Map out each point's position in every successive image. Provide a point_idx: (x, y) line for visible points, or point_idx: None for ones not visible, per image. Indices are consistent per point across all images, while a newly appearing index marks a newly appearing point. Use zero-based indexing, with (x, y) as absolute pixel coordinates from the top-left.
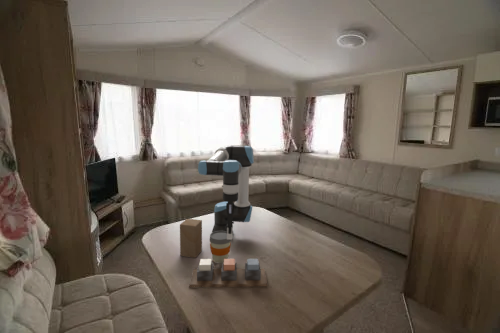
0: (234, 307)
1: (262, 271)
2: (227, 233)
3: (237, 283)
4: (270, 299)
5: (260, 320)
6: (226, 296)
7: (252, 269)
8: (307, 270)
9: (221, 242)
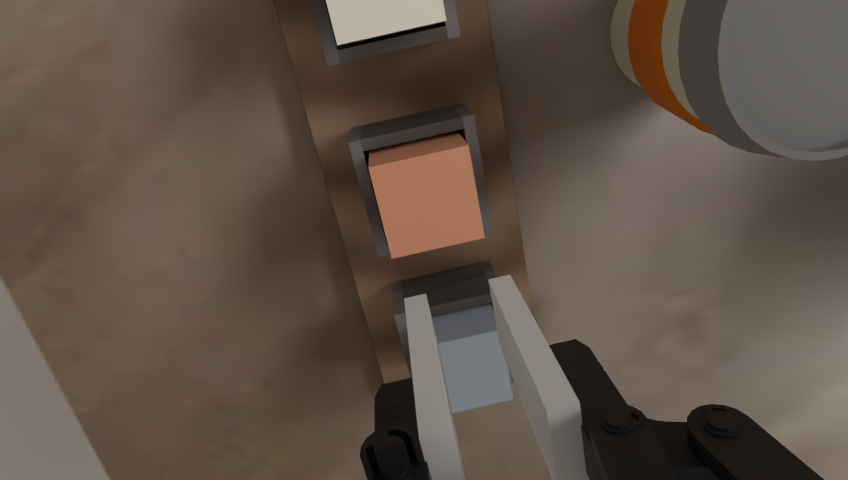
0: (156, 259)
1: None
2: (412, 356)
3: (347, 242)
4: (283, 415)
5: (117, 393)
6: (233, 192)
7: None
8: None
9: (695, 72)
